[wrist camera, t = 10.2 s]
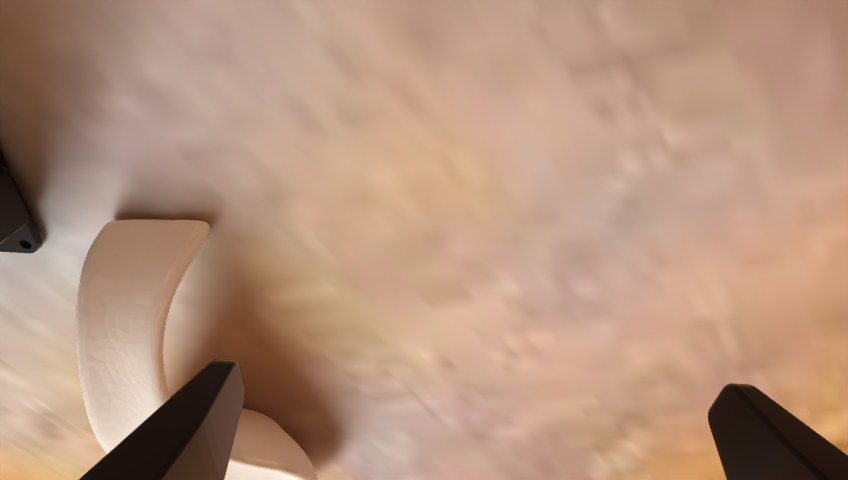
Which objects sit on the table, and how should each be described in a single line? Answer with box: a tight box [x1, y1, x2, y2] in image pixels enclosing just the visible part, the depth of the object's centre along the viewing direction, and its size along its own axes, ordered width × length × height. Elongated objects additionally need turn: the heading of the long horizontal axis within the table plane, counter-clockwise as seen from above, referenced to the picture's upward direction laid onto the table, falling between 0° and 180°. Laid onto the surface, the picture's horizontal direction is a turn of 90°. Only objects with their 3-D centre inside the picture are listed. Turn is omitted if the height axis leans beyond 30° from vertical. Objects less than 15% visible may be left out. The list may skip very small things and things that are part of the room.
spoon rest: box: [76, 219, 318, 480], centre depth 26 cm, size 24×12×7 cm, turn 1°
